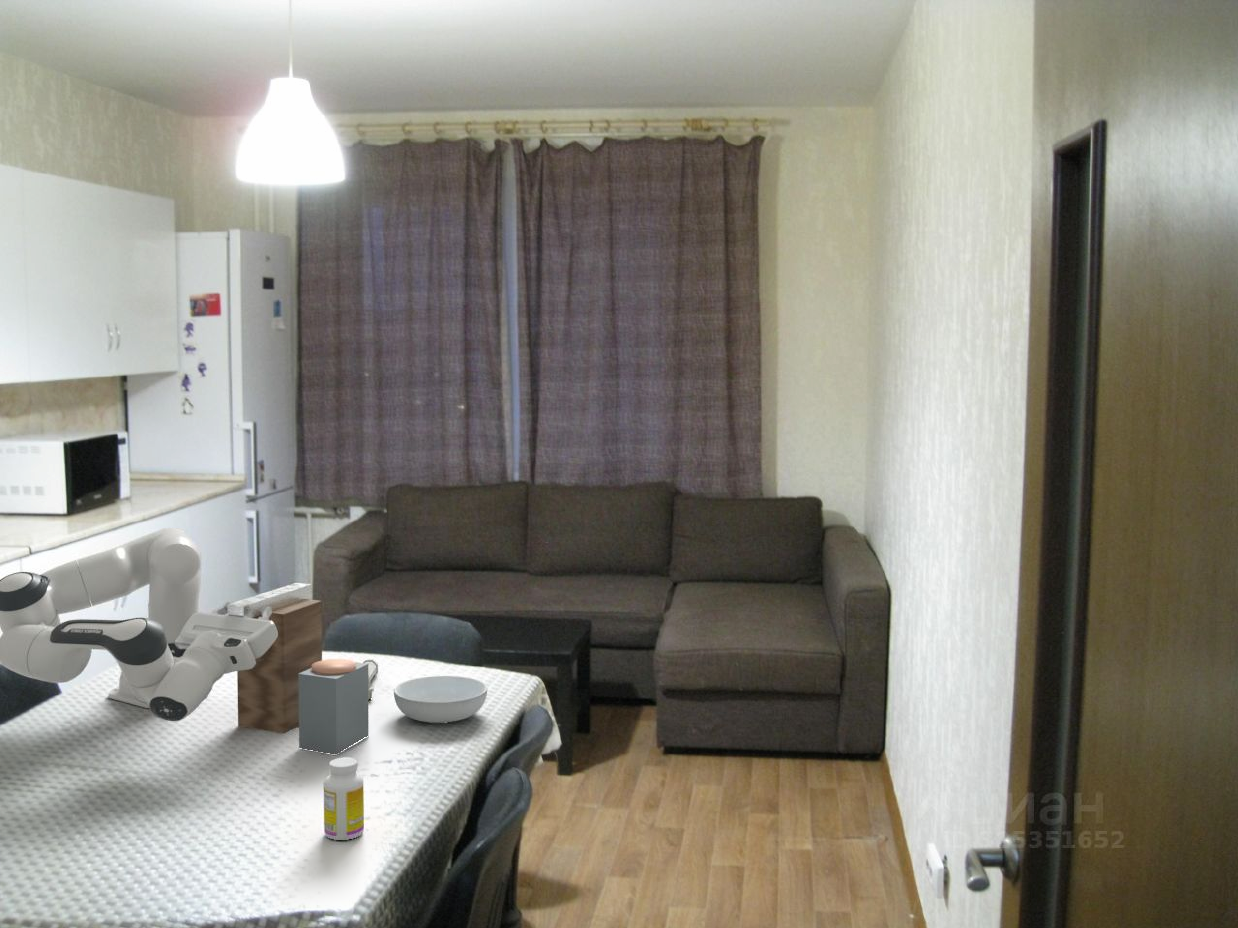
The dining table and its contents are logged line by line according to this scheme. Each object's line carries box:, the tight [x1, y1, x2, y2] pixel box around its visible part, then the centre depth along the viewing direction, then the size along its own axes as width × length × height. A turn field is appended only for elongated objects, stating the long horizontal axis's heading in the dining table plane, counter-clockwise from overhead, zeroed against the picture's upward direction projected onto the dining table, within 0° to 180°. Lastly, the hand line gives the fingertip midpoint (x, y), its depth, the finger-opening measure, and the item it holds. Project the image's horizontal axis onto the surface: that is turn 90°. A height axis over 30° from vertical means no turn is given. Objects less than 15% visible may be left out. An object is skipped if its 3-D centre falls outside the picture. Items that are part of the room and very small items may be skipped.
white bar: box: [227, 582, 313, 618], centre depth 258 cm, size 4×24×3 cm, turn 160°
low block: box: [298, 658, 369, 755], centre depth 249 cm, size 9×12×17 cm
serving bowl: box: [393, 675, 489, 724], centre depth 268 cm, size 21×21×7 cm
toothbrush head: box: [362, 659, 379, 700], centre depth 289 cm, size 5×7×25 cm
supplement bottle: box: [323, 757, 365, 841], centre depth 205 cm, size 7×7×13 cm
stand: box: [236, 598, 323, 734], centre depth 262 cm, size 12×14×26 cm
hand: (249, 606), depth 251 cm, fingers open, 8 cm apart
